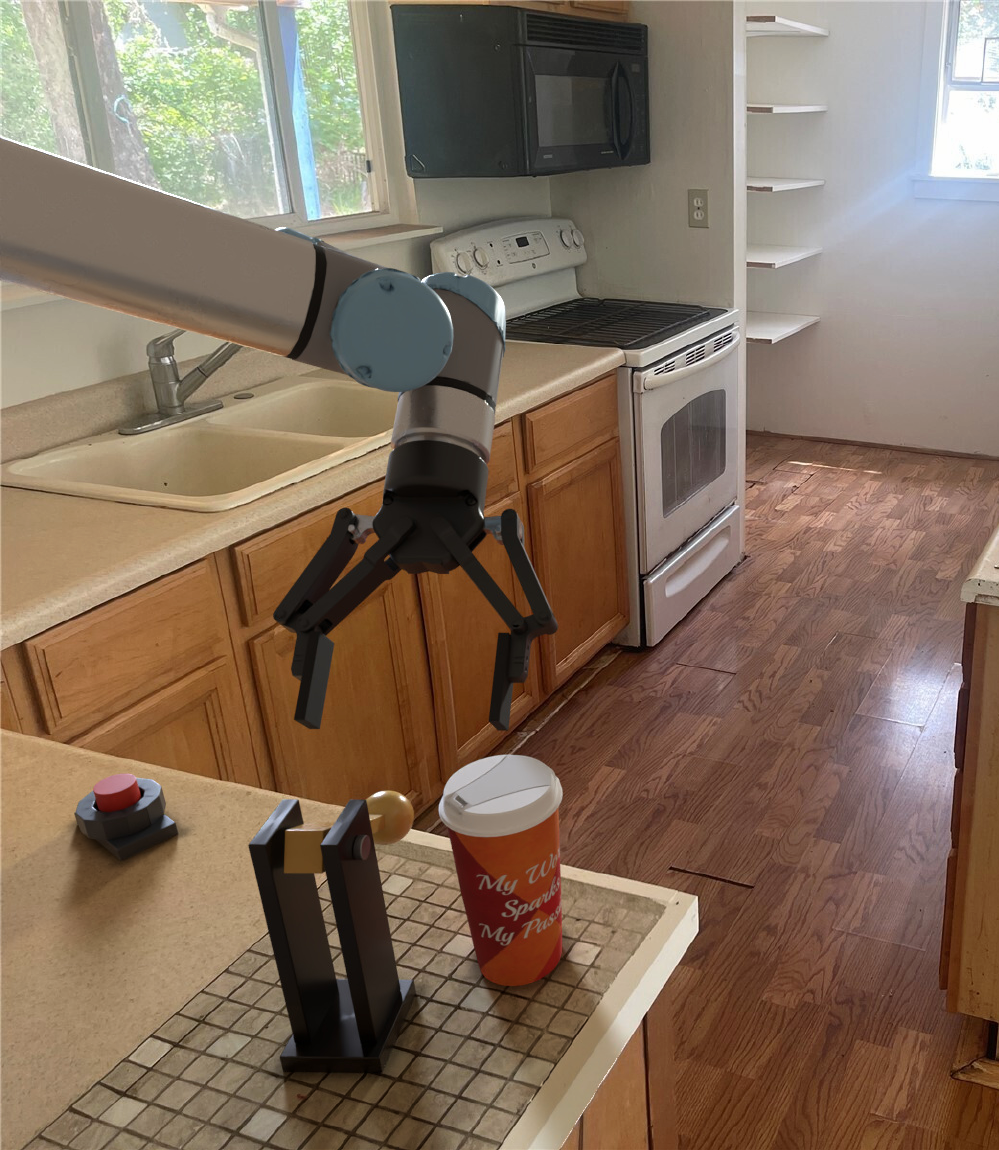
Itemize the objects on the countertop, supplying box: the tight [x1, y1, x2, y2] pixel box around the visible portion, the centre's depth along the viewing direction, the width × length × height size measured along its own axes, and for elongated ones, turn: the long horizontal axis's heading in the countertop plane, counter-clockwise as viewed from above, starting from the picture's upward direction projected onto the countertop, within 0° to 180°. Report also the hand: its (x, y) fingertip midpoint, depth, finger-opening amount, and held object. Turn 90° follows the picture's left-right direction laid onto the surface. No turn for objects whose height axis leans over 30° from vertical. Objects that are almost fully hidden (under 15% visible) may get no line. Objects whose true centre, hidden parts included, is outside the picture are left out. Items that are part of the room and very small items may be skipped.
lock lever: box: [284, 790, 415, 875], centre depth 67 cm, size 14×4×4 cm, turn 178°
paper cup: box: [438, 754, 564, 987], centre depth 70 cm, size 8×8×14 cm
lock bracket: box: [247, 798, 417, 1074], centre depth 64 cm, size 6×6×16 cm
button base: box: [73, 777, 179, 862], centre depth 86 cm, size 8×6×3 cm
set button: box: [92, 773, 141, 812], centre depth 86 cm, size 3×3×2 cm
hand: (402, 726), depth 76 cm, fingers open, 13 cm apart
